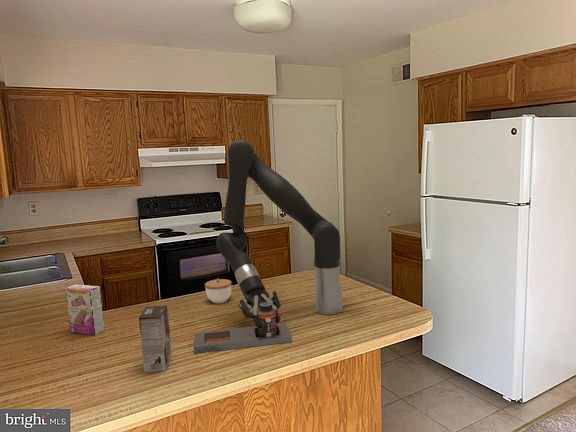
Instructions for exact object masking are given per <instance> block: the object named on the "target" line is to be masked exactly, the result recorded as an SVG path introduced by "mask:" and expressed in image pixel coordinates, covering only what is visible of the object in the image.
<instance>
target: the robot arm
mask: <svg viewBox="0 0 576 432" xmlns="http://www.w3.org/2000/svg"><path fill="white" fill-rule="evenodd" d="M227 158H228V167H229V169H228V171H229V172H228V173H229V175H228V176H229V177H228V186H227V192H226V197H225V204H224V205H225V206H224V216H223V222H224V224H225V225H226V226H229V227H231V229H232V232H229V231H227V232H221V233H219V234H218V236H217V237H216V242H215V244H216V248H217V250H218V251H219V253H220V254H221V256H223V258H224V260H226V262H227V263H228V264H229V265H230V268H231V269H232V272H233V273H234V276H235V279H236V282H237V284H238V287H239V289H240V290H241V291H240V292H241V293H242V295H243V297H244V299H242V298H241V299H240V300H239V302H238V304H237V305H238V308H239V309H240V310H241V312H242V314H243V315H244V317H245V318H246V319H248V320H249V319H252V321H253V322H254V326H256V327H258V328H259V329H260V328H262V326H263V324H262V322H261V320H260V318H259V316H258V315H257V312H258V310H260V304H261V303H263V302H270V303H272V308H273V309H274V310H275V313H276V324H280V322H281V319H282V318H281V316H280V314H279V309H280V308H281V307H282V305H281V302H280V299H279V297H278V293H277V291H275V290H273V292H267V289H266V288H265V287H266V286H265V285H264V283H263V280H262V278H261V277H260V274H259V271H258V270H257V269H256V267H255V266H254V264H253V262H252V259H251V258H250V255H249V254H248V253H247V252H245V251H243V250H245V248H246V245H247V237H246V229H245V221H244V220H245V210H246V202H247V201H246V200H247V199H246V198H247V197H246V195H247V184H248V183H247V182H248V177H249V178H251V180H252V181H253V182H254V183H255V184H256V185H257V186H258V187H259V189H260V190H261V191H262V192H263V194H265V196H266V197H267V198H268V199H269V200H270V201H271V202H272V203H273V204H274V205H275V206H276V207H277V208H278V209H280V211H282V212H283V213H284V214H286V215H287V216H288V217H290V218H292V219H293V220H294V221H296V222H297V223H299V224H300V225H301V226H302V227H303V228H304V229H305V230H306V232H308V234H309V235H310V237H311V238H312V239H313V243H314V259H313V265H314V268H313V269H314V287H315V288H314V289H315V291H314V293H315V311H316V313H317V314H320V315H326V316H327V315H336V314H339V313H343V287H342V285H341V277H340V276H341V275H340V273H341V272H340V271H341V270H340V268H341V267H340V260H341V236H340V235H341V234H340V232H339V229H338V228H337V227H336V226H335V224H333V223H332V222H330V221H328V220H327V218H325V217H323V215H321V214H319V213H318V212H317V211H316V210H315V209H314V208H313V207H312V206H311V204H310V203H309V202H308V201H307V200H306V198H305V197H304V196H303V195H302V193H301V192H300V191H299V190H298V189H297V188H296V187H295V186H294V185H293V184H292V183H290V181H288V180H287V179H286V178H285V177H284V176H283V175H280V174H279V173H278V172H276V171H275V170H274V169H272V168H270V167H269V166H268V165H267V164H266V163H265V162H264V161H263V160H262V159H261V157H260V156H259V155H257V153H256V152H255V150H254V147H253V146H252V145H251V144H250V142H249V141H247V140H244V139H238V140H234V141H233V142H232V143H231V144H230V145H229V146H228V149H227ZM248 305H249V306H250V309H249V307H248Z"/></svg>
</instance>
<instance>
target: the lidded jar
mask: <svg viewBox="0 0 576 432" xmlns="http://www.w3.org/2000/svg"><path fill="white" fill-rule="evenodd" d="M204 288H205V293H206V296H207V299H208V300H210V301H211V302H212V303H213V304H223V303H227V301H228V300H229V298H230V296H231V294H232V280H230V279H224V278H221V279H220V278H216V279H212V280H209V281H207V282H205V283H204Z"/></svg>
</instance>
